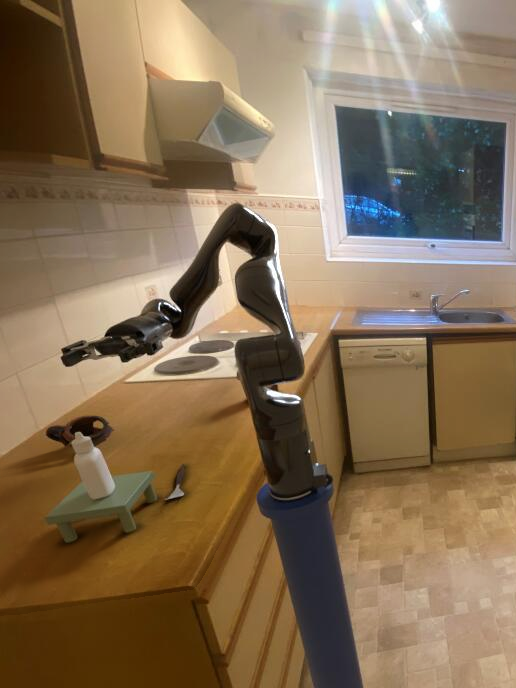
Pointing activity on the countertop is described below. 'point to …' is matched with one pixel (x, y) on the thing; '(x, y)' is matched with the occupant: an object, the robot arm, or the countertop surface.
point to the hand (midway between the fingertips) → (94, 359)
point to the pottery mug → (80, 430)
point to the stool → (103, 503)
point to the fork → (177, 491)
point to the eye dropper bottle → (92, 468)
